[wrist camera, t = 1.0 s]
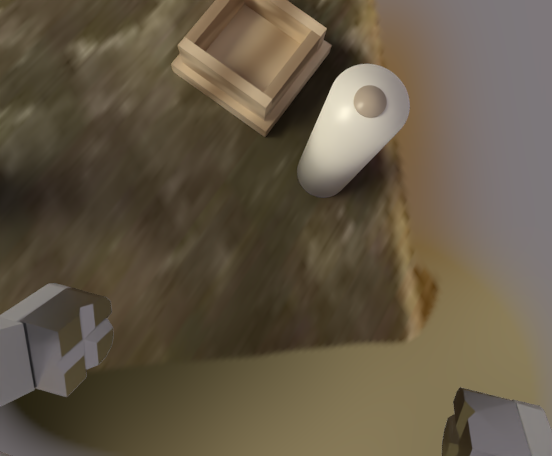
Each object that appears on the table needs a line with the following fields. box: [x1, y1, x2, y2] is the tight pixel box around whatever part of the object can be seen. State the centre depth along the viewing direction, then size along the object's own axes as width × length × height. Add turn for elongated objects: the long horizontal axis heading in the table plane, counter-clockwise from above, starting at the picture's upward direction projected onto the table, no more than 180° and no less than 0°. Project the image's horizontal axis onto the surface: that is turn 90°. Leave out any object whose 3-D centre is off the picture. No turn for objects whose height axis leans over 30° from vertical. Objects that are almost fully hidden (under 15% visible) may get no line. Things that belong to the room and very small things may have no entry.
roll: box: [297, 64, 410, 198], centre depth 35 cm, size 5×5×16 cm
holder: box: [171, 0, 332, 137], centre depth 42 cm, size 11×11×4 cm
